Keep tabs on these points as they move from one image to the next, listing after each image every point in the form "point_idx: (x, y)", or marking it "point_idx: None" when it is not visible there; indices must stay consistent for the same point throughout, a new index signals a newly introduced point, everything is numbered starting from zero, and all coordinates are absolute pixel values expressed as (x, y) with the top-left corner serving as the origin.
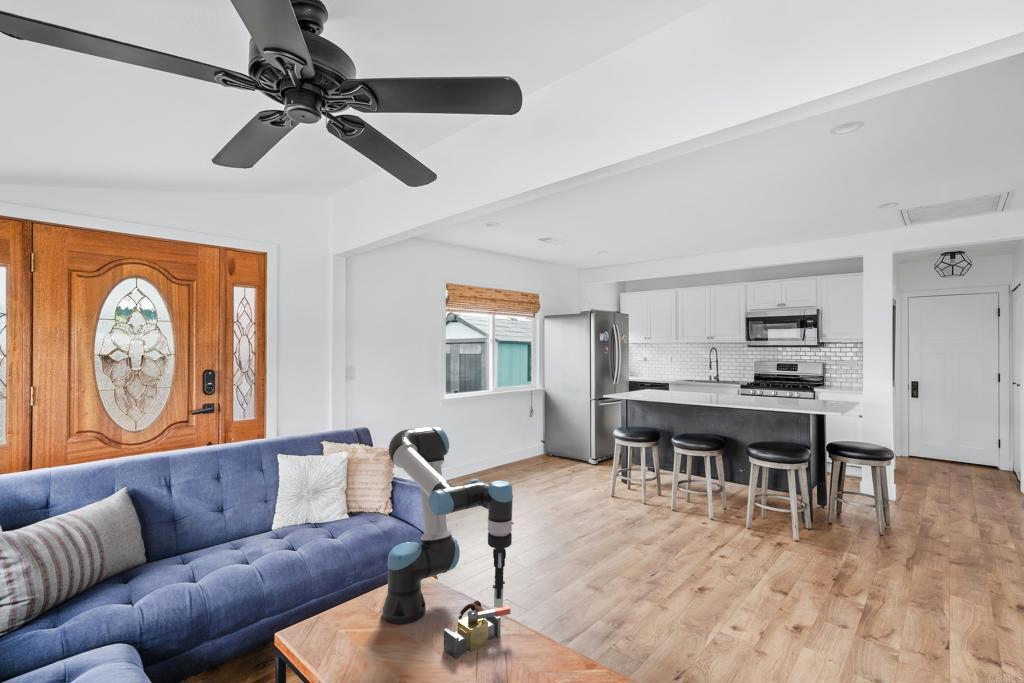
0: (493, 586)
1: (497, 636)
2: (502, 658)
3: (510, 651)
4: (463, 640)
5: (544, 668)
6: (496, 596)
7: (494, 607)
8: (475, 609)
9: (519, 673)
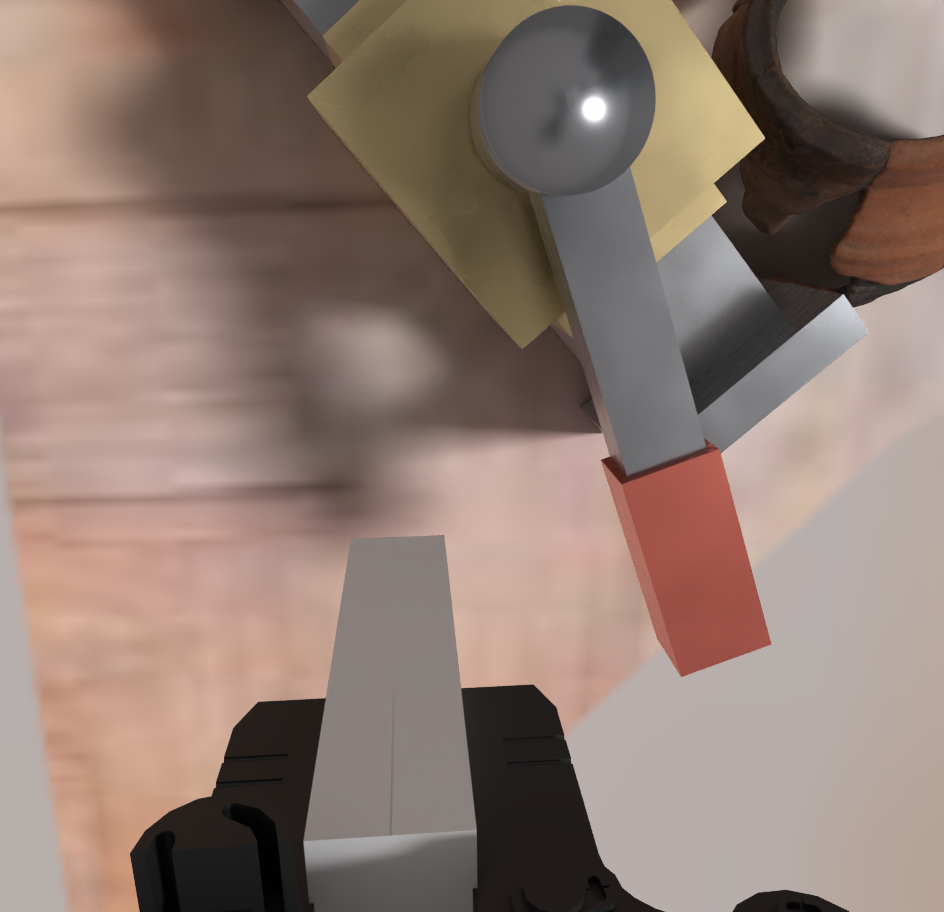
0: (174, 878)
1: (586, 408)
2: (250, 460)
3: (363, 531)
4: (298, 8)
5: (133, 800)
6: (280, 727)
7: (350, 549)
8: (883, 144)
9: (38, 611)
